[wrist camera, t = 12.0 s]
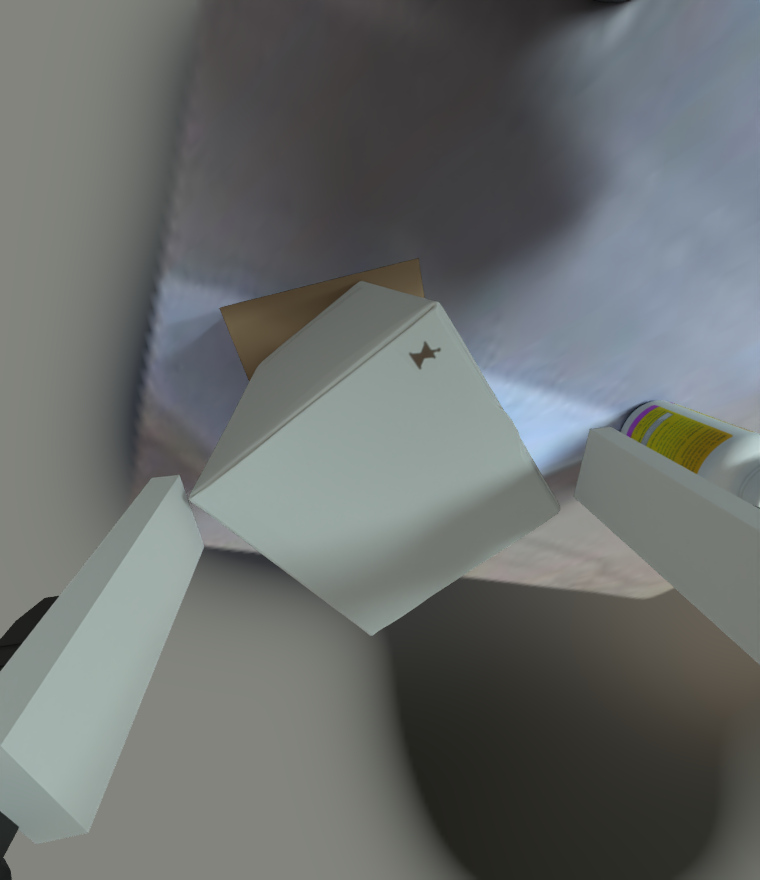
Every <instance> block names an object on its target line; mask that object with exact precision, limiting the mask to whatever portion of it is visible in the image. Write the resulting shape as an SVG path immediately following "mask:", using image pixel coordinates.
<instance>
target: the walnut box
mask: <svg viewBox="0 0 760 880" xmlns="http://www.w3.org/2000/svg"><path fill="white" fill-rule="evenodd" d="M360 281H364V282H367V283H371V284H375V285H378V286H382V287H385V288H388V289H392V290H396V291H399V292H403V293H407V294H411V295H414V296H418V297H422V298H425V297H424V291H423V284H422V278H421V271H420V264H419V258H417V259H413V260H409V261H405V262H401V263H397V264H393V265H389V266H385V267H381V268H377V269H372V270H368V271H364V272H360V273H356V274H352V275H348V276H344V277H340V278H336V279H332V280H328V281H324V282H320V283H316V284H312V285H308V286H304V287H300V288H296V289H292V290H288V291H284V292H280V293H276V294H272V295H268V296H264V297H260V298H256V299H252V300H248V301H244V302H240V303H236V304H232V305H228V306H224V307H221V308H220V310H221V313H222V315H223V318H224V320H225V323H226V325H227V328H228V330H229V333H230V335H231V338H232V340H233V343H234V345H235V348H236V350H237V353H238V355H239V358H240V360H241V362H242V365H243V367H244V370H245V372H246V375H247V377H248V380H249V382H250V380H251V378H252V376H253V374H254V372H255V370H256V368H257V367H258V365H259V364H260V363H261V362H262V361H263V360H265V359H266V358H267V357H268V356H269V355H270V354H272V353H273V352H274V351H275V350H276V349H277V348H278V347H280V346H281V345H282V344H283V343H285V342H286V341H287V340H288V339H290V338H291V337H292V336H293V335H294V334H296V333H297V332H298V331H299V330H301V329H302V328H303V327H304V326H305V325H307V324H308V323H309V322H310V321H312V320H313V319H314V318H315V317H317V316H318V315H319V314H320V313H321V312H323V311H324V310H325V309H326V308H328V307H329V306H330V305H331V304H332V303H334V302H335V301H336V300H337V299H338V298H340V297H341V296H342V295H343V294H345V293H346V292H347V291H348V290H349V289H351V288H352V287H353V286H354V285H356V284H357V283H358V282H360Z"/></svg>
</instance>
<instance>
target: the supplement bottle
mask: <svg viewBox="0 0 760 880" xmlns="http://www.w3.org/2000/svg"><path fill="white" fill-rule="evenodd" d="M621 433H623V434H625V435H626V436H628V437H630V438H632V439H634V440H636V441H637V442H639V443H641V444H643V445H645V446H646V447H648V448H650V449H652V450H654V451H655V452H657V453H659V454H661V455H663V456H665V457H666V458H668V459H670V460H672V461H674V462H675V463H677V464H679V465H681V466H683V467H684V468H686V469H688V470H690V471H692V472H694V473H695V474H697V475H699V476H701V477H703V478H704V479H706V480H708V481H710V482H712V483H713V484H715V485H717V486H719V487H721V488H723V489H724V490H726V491H728V492H730V493H732V494H733V495H735V496H737V497H739V498H741V499H742V500H744V501H746V502H748V503H750V504H752V505H754V506H757V507H760V434H758V433H755V432H753V431H750V430H747V429H744V428H741V427H738V426H735V425H733V424H730V423H727V422H724V421H722V420H719V419H716V418H713V417H711V416H708V415H705V414H702V413H700V412H697V411H694V410H691V409H689V408H686V407H683V406H680V405H677V404H675V403H672V402H669V401H664V400H657V401H652V402H649V403H646V404H644V405H642V406H640V407H639V408H637V409H636V410H635V411H634V412H633V413H632V414H631V415H630V416H629V417H628V418H627V420H626V422H625V423H624V425H623V427H622V430H621Z"/></svg>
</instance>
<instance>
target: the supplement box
mask: <svg viewBox="0 0 760 880" xmlns="http://www.w3.org/2000/svg"><path fill="white" fill-rule="evenodd" d="M189 501H191V502H192V503H194V504H195V505H197V506H198V507H199V508H201V509H202V510H204V511H205V512H206V513H208V514H209V515H210V516H212V517H213V518H214V519H216V520H217V521H219V522H220V523H221V524H223V525H224V526H225V527H227V528H228V529H229V530H231V531H232V532H233V533H235V534H236V535H237V536H239V537H240V538H241V539H243V540H244V541H245V542H247V543H248V544H249V545H251V546H252V547H253V548H255V549H256V550H257V551H259V552H260V553H261V554H263V555H264V556H265V557H267V558H268V559H269V560H271V561H272V562H273V563H275V564H276V565H277V566H279V567H280V568H281V569H283V570H284V571H285V572H287V573H288V574H289V575H291V576H292V577H293V578H295V579H296V580H297V581H299V582H300V583H301V584H303V585H304V586H305V587H307V588H308V589H309V590H311V591H312V592H313V593H315V594H316V595H318V596H319V597H320V598H322V599H323V600H324V601H325V602H327V603H328V604H329V605H331V606H332V607H333V608H335V609H336V610H337V611H339V612H340V613H341V614H343V615H344V616H345V617H347V618H348V619H349V620H351V621H352V622H353V623H355V624H356V625H358V626H359V627H360V628H361V629H363V630H364V631H365V632H366V633H368V634H369V635H371V636H372V635H374V634H375V633H376V632H378V631H379V630H381V629H382V628H384V627H385V626H387V625H389V624H391V623H392V622H394V621H396V620H397V619H399V618H400V617H402V616H403V615H405V614H406V613H408V612H409V611H411V610H412V609H414V608H415V607H417V606H418V605H420V604H421V603H422V602H424V601H425V600H426V599H428V598H429V597H431V596H432V595H434V594H435V593H437V592H438V591H440V590H441V589H443V588H444V587H446V586H448V585H449V584H451V583H452V582H454V581H455V580H457V579H458V578H460V577H461V576H463V575H464V574H466V573H467V572H469V571H470V570H472V569H474V568H475V567H477V566H478V565H480V564H482V563H483V562H485V561H486V560H488V559H489V558H491V557H492V556H494V555H496V554H497V553H499V552H501V551H502V550H504V549H505V548H507V547H508V546H510V545H512V544H513V543H515V542H516V541H518V540H519V539H521V538H522V537H524V536H525V535H527V534H529V533H530V532H532V531H533V530H535V529H536V528H538V527H539V526H541V525H542V524H543V523H545V522H546V521H548V520H549V519H551V518H552V517H553V516H555V515H556V514H558V512H559V511H560V505H559V503H558V501H557V500H556V498H555V496H554V495H553V493H552V491H551V490H550V488H549V486H548V484H547V483H546V481H545V479H544V478H543V476H542V474H541V473H540V471H539V469H538V468H537V466H536V464H535V462H534V461H533V459H532V457H531V456H530V454H529V452H528V450H527V449H526V447H525V445H524V444H523V442H522V440H521V438H520V436H519V433H518V431H517V429H516V427H515V425H514V423H513V421H512V420H511V419H510V417H509V416H508V415H507V413H506V412H505V411H504V410H503V408H502V407H501V405H500V403H499V401H498V400H497V398H496V396H495V394H494V393H493V391H492V389H491V388H490V386H489V385H488V383H487V381H486V380H485V378H484V376H483V374H482V373H481V371H480V369H479V368H478V366H477V364H476V363H475V361H474V359H473V357H472V356H471V354H470V352H469V350H468V349H467V347H466V345H465V343H464V342H463V340H462V338H461V337H460V335H459V333H458V332H457V330H456V328H455V327H454V325H453V323H452V322H451V320H450V318H449V317H448V315H447V314H446V312H445V310H444V309H443V307H442V306H441V304H440V303H439V302H437V301H432V300H429V299H425V298H422V297H418V296H414V295H411V294H407V293H403V292H399V291H396V290H392V289H388V288H385V287H382V286H378V285H375V284H371V283H367V282H364V281H360V282H358V283H357V284H356V285H354V286H353V287H352V288H351V289H349V290H348V291H347V292H346V293H345V294H343V295H342V296H341V297H340V298H338V299H337V300H336V301H335V302H334V303H332V304H331V305H330V306H329V307H328V308H326V309H325V310H324V311H323V312H321V313H320V314H319V315H318V316H317V317H315V318H314V319H313V320H312V321H310V322H309V323H308V324H307V325H305V326H304V327H303V328H302V329H301V330H299V331H298V332H297V333H296V334H294V335H293V336H292V337H291V338H290V339H288V340H287V341H286V342H285V343H283V344H282V345H281V346H280V347H278V348H277V349H276V350H275V351H274V352H273V353H272V354H270V355H269V356H268V357H267V358H266V359H265V360H263V361H262V362H261V363H260V364H259V365H258V367H257V368H256V370H255V372H254V374H253V376H252V378H251V380H250V382H249V383H248V385H247V387H246V389H245V391H244V393H243V395H242V397H241V399H240V401H239V403H238V405H237V407H236V409H235V411H234V413H233V415H232V417H231V419H230V420H229V422H228V424H227V426H226V428H225V430H224V432H223V434H222V435H221V437H220V439H219V441H218V443H217V445H216V447H215V449H214V451H213V453H212V454H211V456H210V458H209V460H208V462H207V464H206V466H205V468H204V470H203V471H202V473H201V475H200V477H199V479H198V481H197V482H196V484H195V486H194V488H193V490H192V492H191V494H190V496H189Z"/></svg>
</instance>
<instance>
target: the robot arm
mask: <svg viewBox="0 0 760 880" xmlns="http://www.w3.org/2000/svg"><path fill="white" fill-rule="evenodd" d="M595 1H599V2H621V1H626V0H595ZM574 497H575V498H576V499H577V500H578V501H579V502H580V503H581V504H583V505H584V506H585V507H586V508H587V509H588V510H589V511H590V512H591V513H592V514H594V515H595V516H596V517H597V518H598V519H599V520H600V521H601V522H602V523H604V524H605V525H606V526H607V527H608V528H609V529H610V530H611V531H612V532H613V533H615V534H616V535H617V536H618V537H619V538H620V539H621V540H622V541H623V542H625V543H626V544H627V545H628V546H629V547H630V548H631V549H632V550H633V551H635V552H636V553H637V554H638V555H639V556H640V557H641V558H642V559H643V560H644V561H646V562H647V563H648V564H649V565H650V566H651V567H652V568H653V569H654V570H656V571H657V572H658V573H659V574H660V575H661V576H662V577H663V578H664V579H666V580H667V581H668V582H669V583H670V584H671V585H672V586H673V587H674V588H675V589H677V590H678V591H679V592H680V593H681V594H682V595H683V596H684V597H685V598H687V599H688V600H689V601H690V602H691V603H692V604H693V605H694V606H695V607H697V608H698V609H699V610H700V611H701V612H702V613H703V614H704V615H705V616H706V617H708V618H709V619H710V620H711V621H712V622H713V623H714V624H715V625H716V626H718V627H719V628H720V629H721V630H722V631H723V632H724V633H725V634H726V635H727V636H729V637H730V638H731V639H732V640H733V641H734V642H735V643H736V644H738V645H739V646H740V647H741V648H742V649H743V650H744V651H745V652H746V653H748V655H750V656H751V657H752V658H753V659H754V660H755V661H756V662H757V663H758V664H760V507H757V506H754V505H752V504H750V503H748V502H746V501H744V500H742V499H741V498H739V497H737V496H735V495H733V494H732V493H730V492H728V491H726V490H724V489H723V488H721V487H719V486H717V485H715V484H713V483H712V482H710V481H708V480H706V479H704V478H703V477H701V476H699V475H697V474H695V473H694V472H692V471H690V470H688V469H686V468H684V467H683V466H681V465H679V464H677V463H675V462H674V461H672V460H670V459H668V458H666V457H665V456H663V455H661V454H659V453H657V452H655V451H654V450H652V449H650V448H648V447H646V446H645V445H643V444H641V443H639V442H637V441H636V440H634V439H632V438H630V437H628V436H626V435H625V434H623V433H621V432H619V431H617V430H616V429H614V428H612V427H604V428H595V429H590V431H589V435H588V439H587V443H586V447H585V451H584V455H583V459H582V464H581V468H580V472H579V476H578V480H577V484H576V488H575V492H574ZM203 548H204V545H203V542H202V539H201V536H200V533H199V530H198V527H197V524H196V521H195V519H194V516H193V513H192V510H191V507H190V504H189V501H188V498H187V495H186V492H185V490H184V487H183V484H182V481H181V478H180V475H173V476H165V477H156V478H151V479H150V481H149V482H148V483H147V485H146V486H145V487H144V488H143V490H142V491H141V492H140V493H139V495H138V496H137V497H136V499H135V500H134V501H133V502H132V504H131V505H130V506H129V508H128V509H127V510H126V511H125V513H124V514H123V515H122V516H121V518H120V519H119V520H118V522H117V523H116V524H115V525H114V527H113V528H112V529H111V531H110V532H109V533H108V535H107V536H106V537H105V538H104V540H103V541H102V542H101V544H100V545H99V546H98V547H97V548H96V550H95V551H94V552H93V554H92V555H91V556H90V557H89V559H88V560H87V561H86V563H85V564H84V565H83V566H82V568H81V569H80V570H79V572H78V573H77V574H76V576H75V577H74V578H73V579H72V580H71V582H70V583H69V584H68V586H67V587H66V588H65V590H64V591H63V592H62V593H61V595H60V596H55V597H48V598H44V599H43V600H42V601H40V602H39V603H38V604H37V605H35V606H34V607H33V608H32V609H30V610H29V611H28V612H27V613H25V614H24V615H23V616H22V617H20V618H19V619H18V620H17V621H15V623H14V624H13V625H12V626H11V627H10V628H9V630H8V631H7V632H6V633H5V635H4V636H3V637H2V638H1V639H0V880H12V879H11V871H10V868H9V867H8V865H7V863H6V861H5V859H4V858H3V857H4V855H5V853H6V851H7V849H8V847H9V846H10V843H11V842H12V840H13V838H14V836H15V834H16V832H17V830H20V831H21V832H22V833H23V834H24V835H26V836H27V837H28V838H29V839H30V840H32V841H33V842H34V843H35V844H39V843H44V842H48V841H53V840H58V839H62V838H67V837H71V836H75V835H80V834H85V833H88V832H89V830H90V827H91V825H92V822H93V820H94V817H95V814H96V812H97V810H98V807H99V805H100V802H101V800H102V797H103V795H104V793H105V790H106V787H107V785H108V782H109V780H110V777H111V775H112V773H113V770H114V768H115V765H116V763H117V760H118V758H119V755H120V753H121V750H122V748H123V745H124V743H125V741H126V738H127V735H128V733H129V731H130V728H131V726H132V723H133V721H134V718H135V716H136V713H137V711H138V708H139V706H140V704H141V701H142V698H143V696H144V694H145V691H146V688H147V686H148V684H149V681H150V679H151V676H152V674H153V671H154V669H155V666H156V664H157V662H158V659H159V656H160V654H161V652H162V649H163V647H164V644H165V641H166V639H167V637H168V634H169V632H170V629H171V627H172V624H173V622H174V619H175V617H176V615H177V612H178V609H179V607H180V605H181V602H182V600H183V597H184V595H185V592H186V590H187V587H188V585H189V582H190V580H191V577H192V575H193V573H194V570H195V568H196V565H197V563H198V560H199V558H200V555H201V553H202V550H203Z"/></svg>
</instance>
